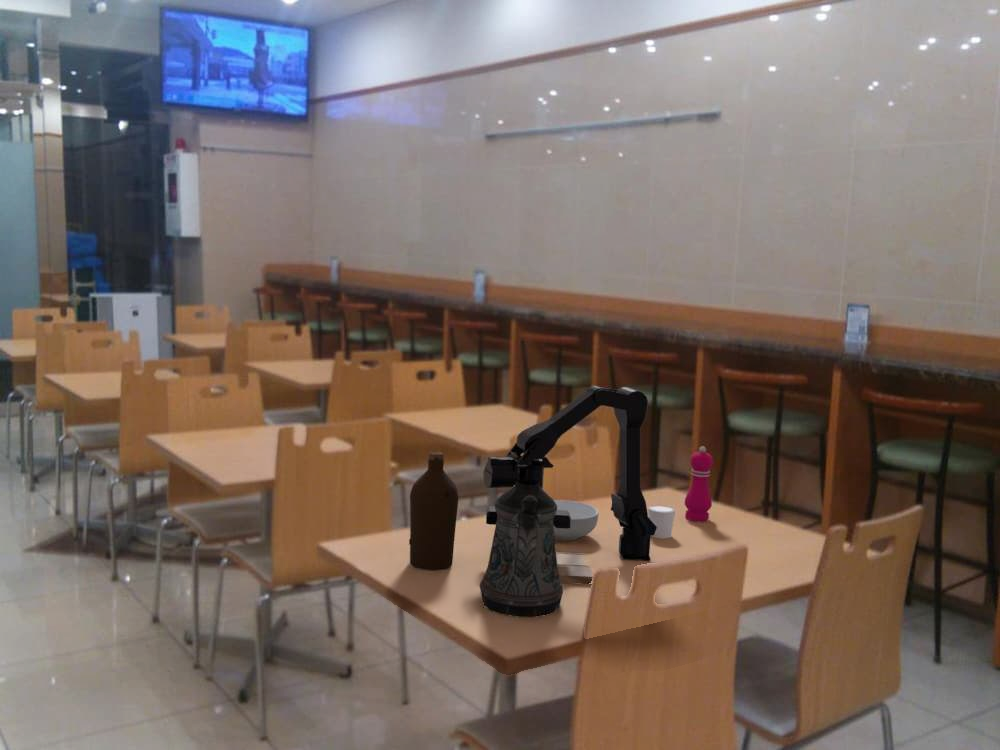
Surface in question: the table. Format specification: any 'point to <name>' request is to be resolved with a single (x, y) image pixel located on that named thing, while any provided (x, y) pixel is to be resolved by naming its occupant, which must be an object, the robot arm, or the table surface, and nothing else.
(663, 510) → the shot glass
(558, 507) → the cereal bowl
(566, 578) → the laid board
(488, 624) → the table surface
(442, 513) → the olive oil
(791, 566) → the table surface
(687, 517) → the pepper mill
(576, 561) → the plank
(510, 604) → the ornate coffee pot
